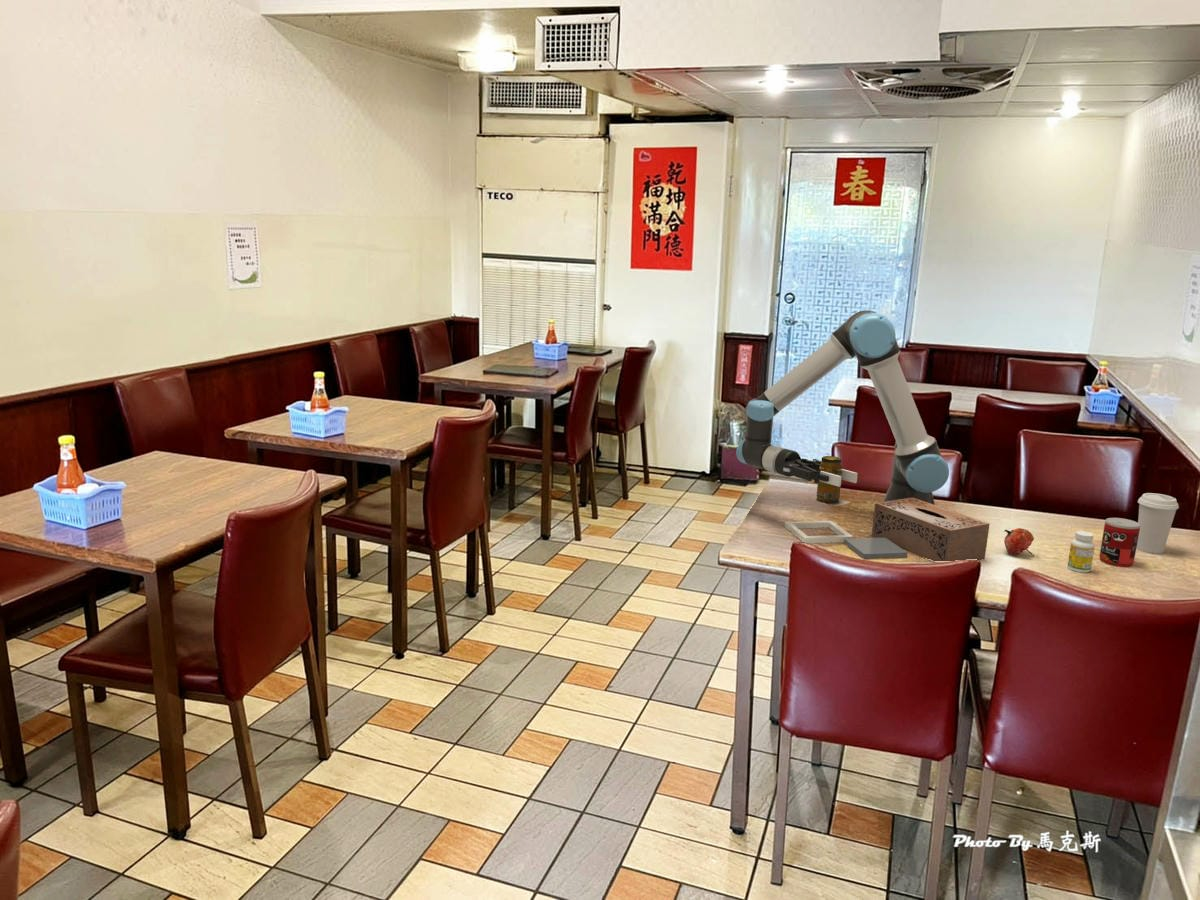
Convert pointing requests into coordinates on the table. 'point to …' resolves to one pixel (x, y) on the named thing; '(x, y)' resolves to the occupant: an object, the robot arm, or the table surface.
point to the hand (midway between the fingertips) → (848, 479)
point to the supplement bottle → (1081, 552)
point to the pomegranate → (1018, 541)
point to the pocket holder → (816, 524)
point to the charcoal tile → (875, 548)
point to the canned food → (1119, 542)
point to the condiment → (827, 491)
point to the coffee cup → (1155, 521)
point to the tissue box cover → (930, 530)
